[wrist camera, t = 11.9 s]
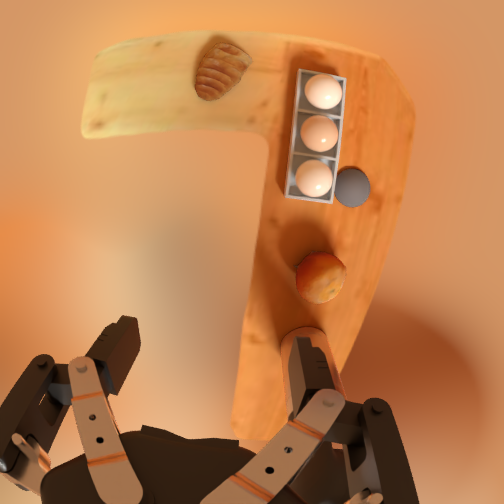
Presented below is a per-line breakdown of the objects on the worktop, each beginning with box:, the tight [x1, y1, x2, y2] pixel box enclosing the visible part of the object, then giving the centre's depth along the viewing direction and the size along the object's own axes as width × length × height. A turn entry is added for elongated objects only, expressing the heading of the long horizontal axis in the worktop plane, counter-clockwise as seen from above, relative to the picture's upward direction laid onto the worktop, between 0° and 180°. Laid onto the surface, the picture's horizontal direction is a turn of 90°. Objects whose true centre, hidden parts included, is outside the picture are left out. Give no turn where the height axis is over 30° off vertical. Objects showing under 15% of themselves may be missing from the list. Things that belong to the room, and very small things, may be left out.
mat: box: [334, 169, 370, 207], centre depth 39 cm, size 6×6×1 cm
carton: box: [284, 69, 346, 204], centre depth 36 cm, size 19×7×2 cm, turn 174°
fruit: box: [294, 251, 346, 304], centre depth 42 cm, size 8×8×8 cm
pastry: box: [195, 43, 252, 101], centre depth 32 cm, size 9×7×4 cm
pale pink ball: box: [300, 115, 338, 152], centre depth 34 cm, size 5×5×5 cm
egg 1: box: [305, 74, 342, 109], centre depth 32 cm, size 5×5×5 cm
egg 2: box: [295, 160, 333, 197], centre depth 36 cm, size 5×5×5 cm
